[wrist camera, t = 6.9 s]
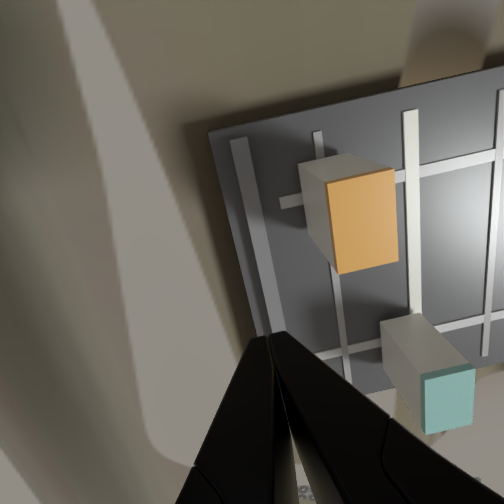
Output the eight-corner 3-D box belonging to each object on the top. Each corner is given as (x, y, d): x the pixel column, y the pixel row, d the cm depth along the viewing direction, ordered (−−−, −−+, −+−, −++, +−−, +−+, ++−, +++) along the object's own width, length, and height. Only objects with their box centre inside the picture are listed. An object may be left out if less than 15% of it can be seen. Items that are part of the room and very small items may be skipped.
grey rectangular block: (346, 152, 17) (394, 169, 12) (353, 223, 18) (398, 261, 14) (297, 163, 17) (327, 184, 12) (308, 233, 18) (338, 275, 14)
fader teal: (419, 312, 20) (475, 368, 16) (420, 360, 22) (472, 424, 17) (379, 321, 20) (424, 380, 16) (383, 368, 22) (425, 435, 17)
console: (577, 47, 18) (622, 40, 16) (536, 336, 25) (564, 356, 23) (208, 131, 17) (207, 133, 15) (273, 397, 24) (278, 422, 22)
